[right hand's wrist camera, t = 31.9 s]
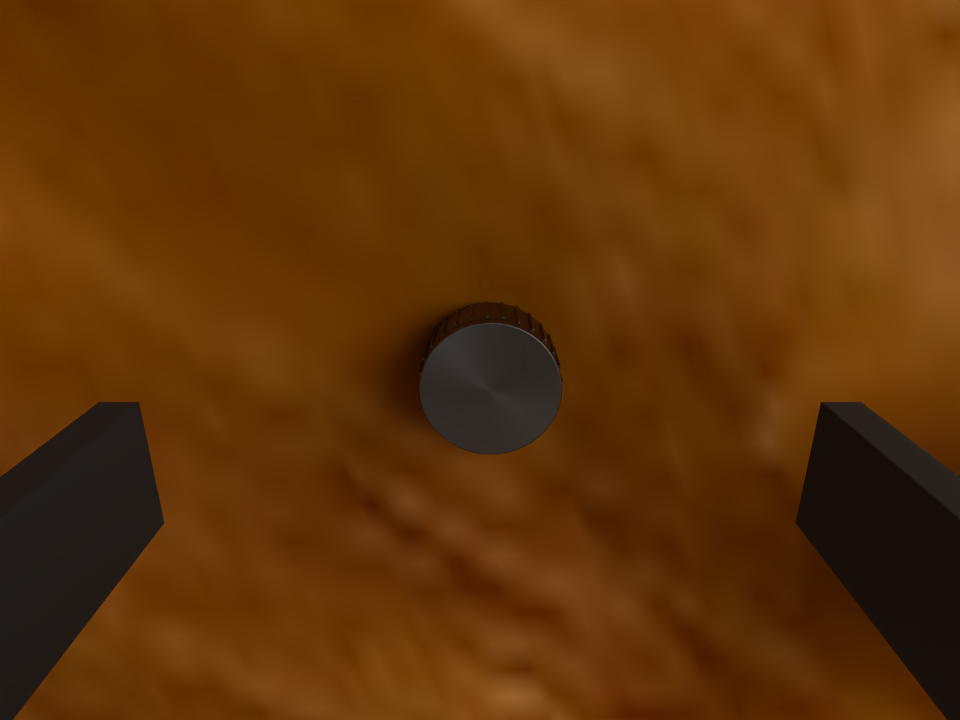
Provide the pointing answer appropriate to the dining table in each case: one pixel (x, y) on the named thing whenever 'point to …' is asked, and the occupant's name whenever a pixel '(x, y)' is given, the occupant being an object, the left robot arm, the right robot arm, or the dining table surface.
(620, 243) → the dining table surface
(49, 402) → the dining table surface
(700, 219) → the dining table surface
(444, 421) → the cap
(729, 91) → the dining table surface
